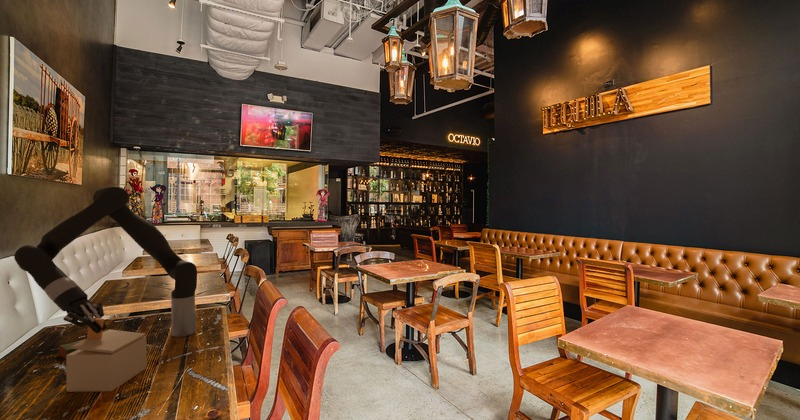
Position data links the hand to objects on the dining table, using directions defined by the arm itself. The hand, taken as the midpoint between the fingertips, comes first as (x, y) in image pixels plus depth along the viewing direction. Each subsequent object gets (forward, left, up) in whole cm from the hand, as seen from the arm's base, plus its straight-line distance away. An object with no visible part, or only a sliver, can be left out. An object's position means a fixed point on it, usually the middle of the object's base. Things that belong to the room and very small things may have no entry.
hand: (102, 330), depth 121 cm
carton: (+7, -34, -17) cm, 39 cm away
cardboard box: (-2, +1, -17) cm, 17 cm away
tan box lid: (-2, +1, -4) cm, 4 cm away
